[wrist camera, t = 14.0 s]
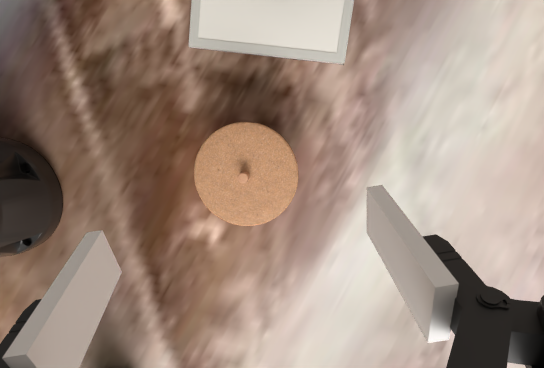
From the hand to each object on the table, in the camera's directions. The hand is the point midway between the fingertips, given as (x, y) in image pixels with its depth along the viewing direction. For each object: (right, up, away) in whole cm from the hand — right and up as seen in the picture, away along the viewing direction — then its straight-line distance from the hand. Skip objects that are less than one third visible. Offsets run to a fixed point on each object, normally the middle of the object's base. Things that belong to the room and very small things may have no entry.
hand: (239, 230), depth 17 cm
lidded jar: (-1, +5, +25) cm, 25 cm away
